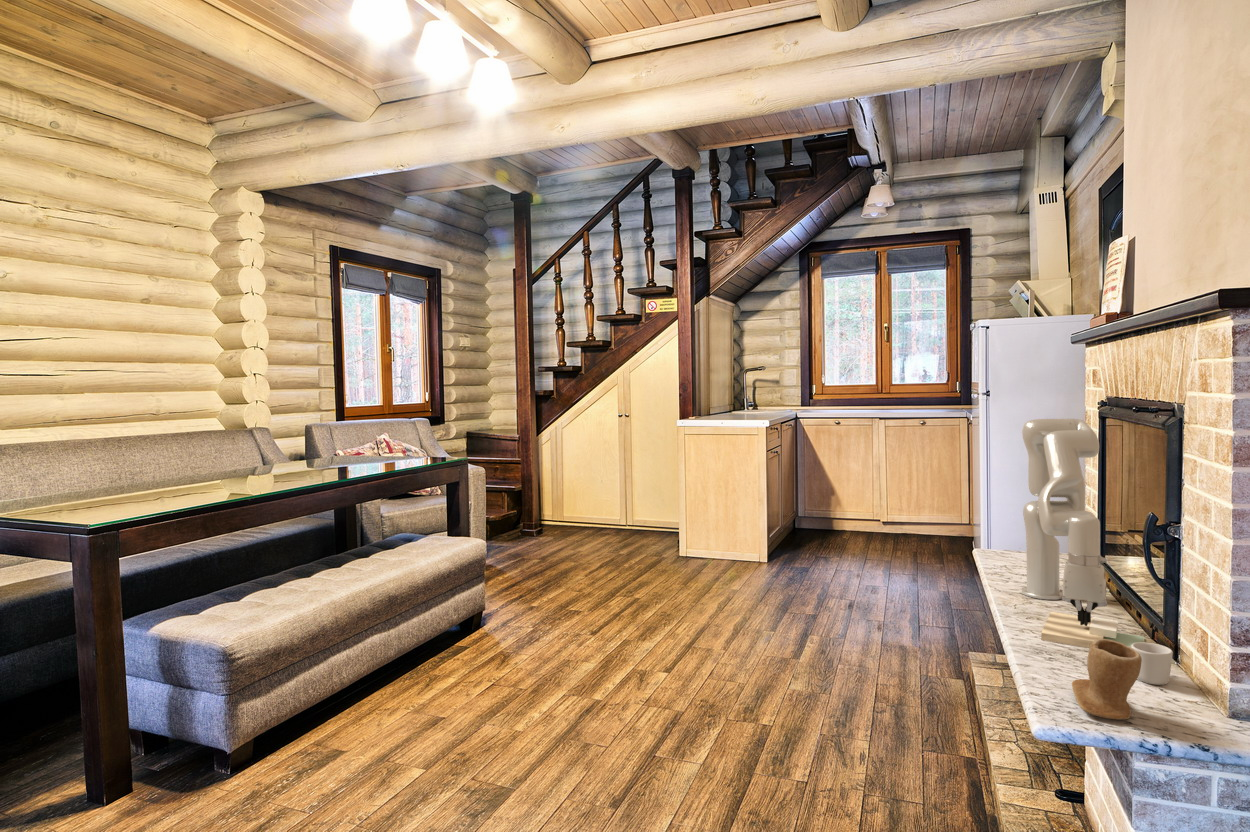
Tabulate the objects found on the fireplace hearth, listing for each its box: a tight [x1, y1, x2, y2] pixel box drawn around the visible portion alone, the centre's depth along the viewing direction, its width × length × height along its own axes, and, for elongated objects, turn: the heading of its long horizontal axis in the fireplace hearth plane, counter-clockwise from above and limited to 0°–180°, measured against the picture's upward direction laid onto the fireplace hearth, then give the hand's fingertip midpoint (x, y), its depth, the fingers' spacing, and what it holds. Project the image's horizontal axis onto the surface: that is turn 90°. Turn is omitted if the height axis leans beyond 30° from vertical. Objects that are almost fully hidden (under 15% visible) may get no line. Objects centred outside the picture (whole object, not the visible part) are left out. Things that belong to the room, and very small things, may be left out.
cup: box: [1131, 641, 1174, 686], centre depth 170 cm, size 11×8×8 cm
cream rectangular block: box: [1089, 616, 1119, 639], centre depth 197 cm, size 10×6×2 cm, turn 142°
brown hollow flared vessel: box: [1071, 639, 1142, 721], centre depth 156 cm, size 15×12×15 cm
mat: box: [1104, 632, 1145, 647], centre depth 192 cm, size 18×9×1 cm, turn 143°
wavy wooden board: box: [1040, 611, 1105, 649], centre depth 202 cm, size 22×14×2 cm, turn 143°
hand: (1084, 624), depth 200 cm, fingers closed
